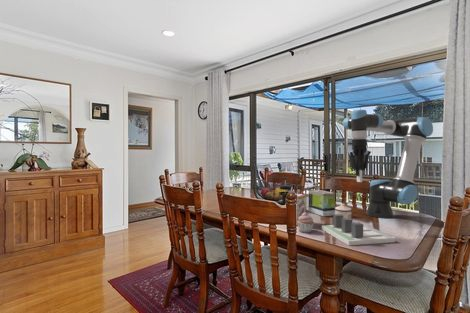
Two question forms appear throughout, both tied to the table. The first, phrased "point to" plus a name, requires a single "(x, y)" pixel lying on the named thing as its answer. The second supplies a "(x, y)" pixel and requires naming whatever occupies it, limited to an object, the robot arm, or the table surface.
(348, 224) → the block
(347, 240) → the panel
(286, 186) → the french press
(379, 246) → the table surface
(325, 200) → the tea box
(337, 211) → the teacup with lid
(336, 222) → the block
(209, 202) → the table surface
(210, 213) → the table surface
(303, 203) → the candy bar box
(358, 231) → the block
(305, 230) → the cupcake
